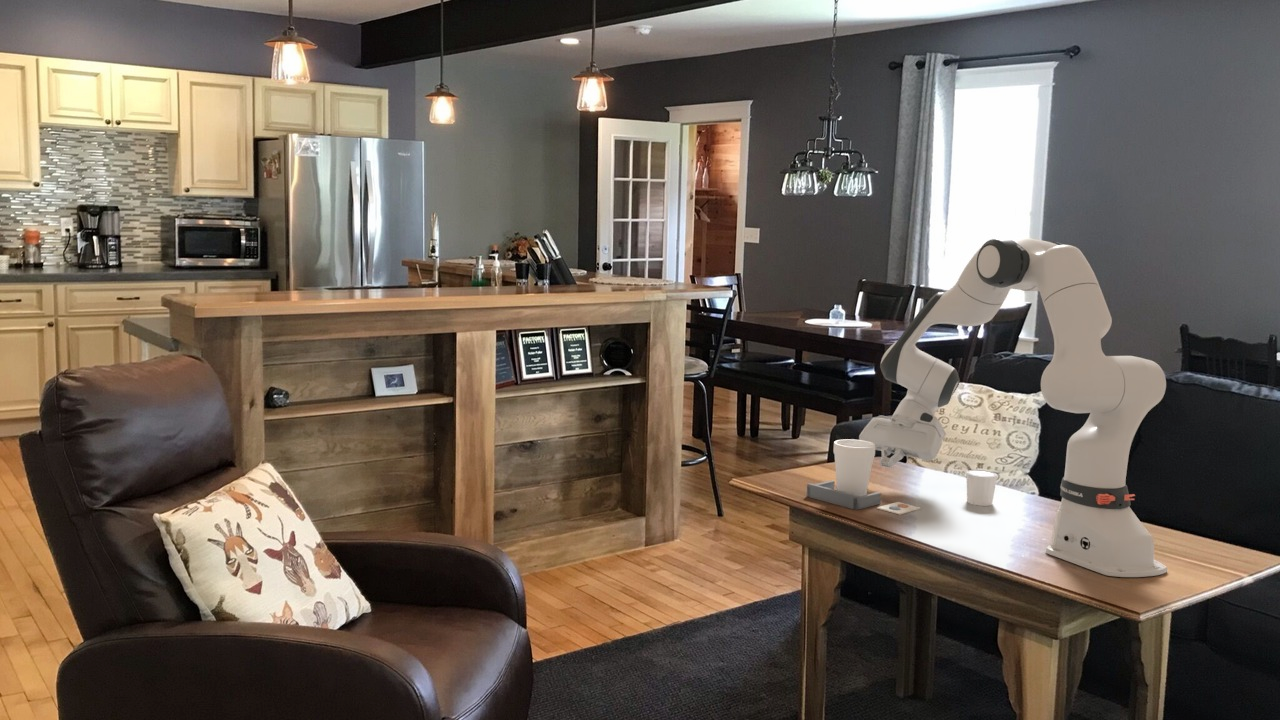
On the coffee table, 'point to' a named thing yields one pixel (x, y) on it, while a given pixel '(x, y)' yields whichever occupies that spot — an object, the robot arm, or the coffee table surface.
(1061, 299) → the robot arm
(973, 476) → the shot glass
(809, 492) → the grey cup holder
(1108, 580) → the coffee table surface
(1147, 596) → the coffee table surface
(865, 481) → the foam cup
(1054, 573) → the coffee table surface
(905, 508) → the card
